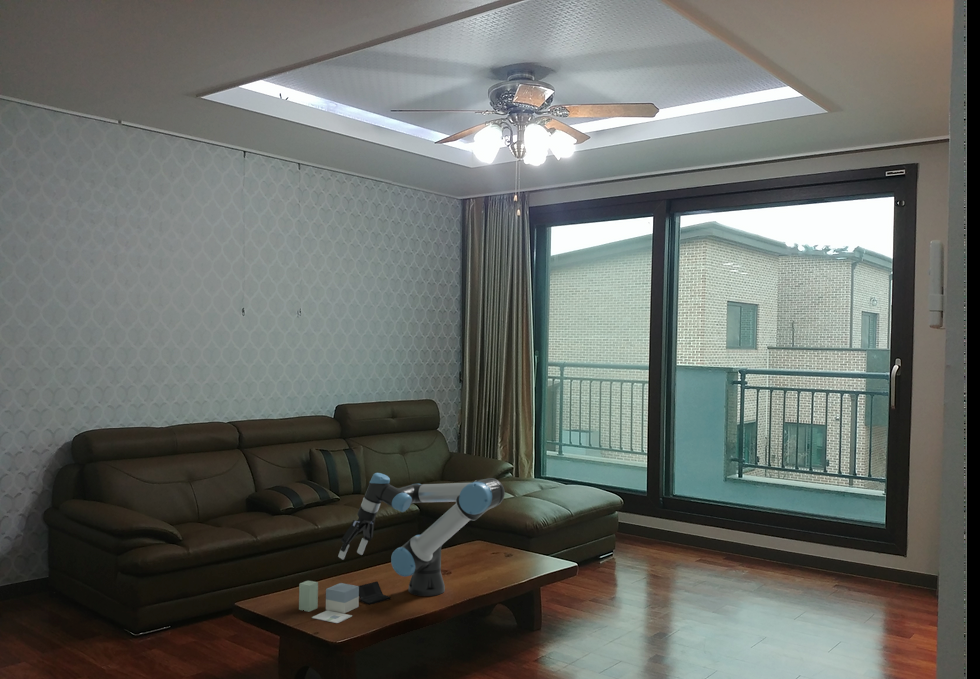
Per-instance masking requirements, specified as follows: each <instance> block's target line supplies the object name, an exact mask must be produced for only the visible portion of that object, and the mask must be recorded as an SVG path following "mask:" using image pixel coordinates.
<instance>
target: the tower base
mask: <svg viewBox="0 0 980 679" xmlns="http://www.w3.org/2000/svg"><path fill="white" fill-rule="evenodd" d="M359 586H360V585H353V584H349V583H343V582H339V583H337V584H334V585H332V586H330V587H327V588H325V611H327V610H328V611H333V612H338V613H343V614H346V613H349V612H351V611H353V610H354V609H358V608H359V607H360V606H359V601H360V597H359Z"/></svg>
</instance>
